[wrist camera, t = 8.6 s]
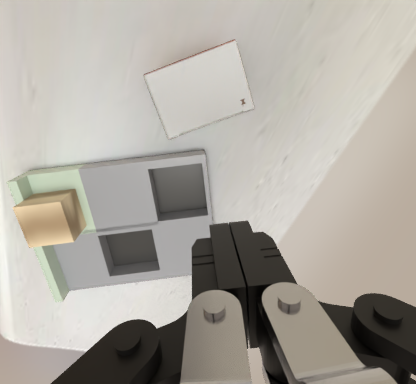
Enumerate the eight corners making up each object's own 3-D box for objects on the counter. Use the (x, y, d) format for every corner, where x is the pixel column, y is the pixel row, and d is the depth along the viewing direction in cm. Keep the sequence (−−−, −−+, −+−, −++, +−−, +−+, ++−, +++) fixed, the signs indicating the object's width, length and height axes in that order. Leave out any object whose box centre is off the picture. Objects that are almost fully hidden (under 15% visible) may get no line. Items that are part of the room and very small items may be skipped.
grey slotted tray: (29, 170, 33) (6, 182, 29) (204, 149, 34) (206, 158, 29) (69, 279, 39) (55, 302, 35) (216, 261, 40) (219, 281, 36)
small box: (222, 53, 30) (238, 36, 20) (236, 103, 32) (257, 109, 22) (156, 78, 30) (140, 73, 21) (174, 125, 32) (167, 141, 23)
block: (33, 193, 32) (12, 207, 28) (75, 188, 32) (60, 201, 28) (47, 230, 34) (29, 247, 30) (86, 225, 34) (73, 242, 30)
